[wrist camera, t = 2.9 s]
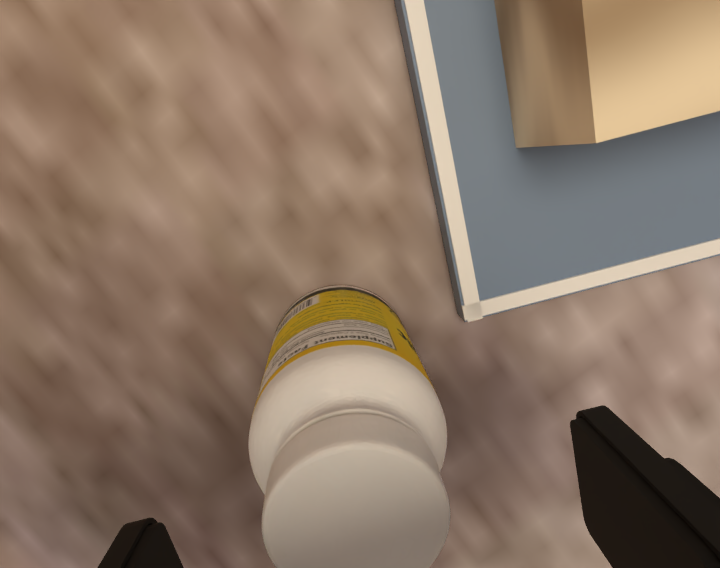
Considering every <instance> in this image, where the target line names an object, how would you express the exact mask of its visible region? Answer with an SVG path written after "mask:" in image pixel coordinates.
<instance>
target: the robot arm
mask: <svg viewBox="0 0 720 568" xmlns="http://www.w3.org/2000/svg"><path fill="white" fill-rule="evenodd" d="M570 428H571V434H572V441H573V448H574V455H575V462H576V469H577V475H578V482H579V489H580V496H581V503H582V510H583V516H584V521H585V524H586V526H587V529H588V531H589V533H590V535H591V536H592V538H593V539H594V541H595V542H596V544H597V545H598V547H599V548H600V550H601V551H602V553H603V554H604V556H605V557H606V558H607V560H608V561H609V563H610V564H611V566H612V567H613V568H720V498H719V497H718V496H716V495H715V494H714V493H713V492H712V491H711V490H710V489H708V488H707V487H706V486H705V485H704V484H703V483H702V482H700V481H699V480H698V479H697V478H696V477H695V476H694V475H692V474H691V473H690V472H689V471H688V470H687V469H686V468H684V467H683V466H682V465H681V464H680V463H678V462H677V461H675V460H674V459H671V458H665V459H664V458H663V457H662V456H661V455H660V454H659V453H657V452H656V451H655V450H654V449H653V448H652V447H651V446H650V445H649V444H647V443H646V442H645V441H644V440H643V439H642V438H641V437H640V436H639V435H637V434H636V433H635V432H634V431H633V430H632V429H631V428H630V427H629V426H628V425H626V424H625V423H624V422H623V421H622V420H621V419H620V418H619V417H618V416H616V415H615V414H614V413H613V412H612V411H611V410H610V409H609V408H607V407H606V406H598V407H594V408H590V409H586V410H582V411H578V412H577V415H576V419H575V420H572V421H571V422H570ZM98 568H183V565H182V563H181V561H180V559H179V556H178V554H177V552H176V550H175V547H174V545H173V543H172V541H171V539H170V536H169V534H168V532H167V530H166V527H165V526H164V524H163V523H157V521H156V520H155V519H154V518H147V519H143V520H139V521H135V522H131V523H127V524H125V525H124V526H123V527H122V528H121V530H120V531H119V533H118V535H117V536H116V538H115V540H114V541H113V543H112V545H111V546H110V548H109V550H108V551H107V553H106V555H105V556H104V558H103V560H102V561H101V563H100V565H99V566H98Z"/></svg>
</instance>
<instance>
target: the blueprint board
mask: <svg viewBox="0 0 720 568" xmlns="http://www.w3.org/2000/svg"><path fill="white" fill-rule="evenodd" d="M394 1H395V6H396V11H397V16H398V21H399V26H400V31H401V36H402V41H403V46H404V51H405V56H406V61H407V65H408V70H409V75H410V80H411V85H412V90H413V95H414V100H415V105H416V110H417V115H418V120H419V125H420V130H421V135H422V140H423V144H424V149H425V154H426V159H427V164H428V169H429V174H430V179H431V184H432V189H433V194H434V199H435V204H436V209H437V214H438V219H439V223H440V228H441V233H442V238H443V243H444V248H445V253H446V258H447V263H448V268H449V273H450V278H451V283H452V288H453V293H454V298H455V302H456V307H457V312H458V315H459V316H460V317H461V318H462V319H463V320H464V322H471V321H475V320H479V319H482V318H483V317H486V316H490V315H493V314H497V313H501V312H505V311H509V310H513V309H516V308H520V307H524V306H528V305H532V304H535V303H539V302H543V301H547V300H551V299H554V298H558V297H562V296H566V295H570V294H574V293H577V292H581V291H585V290H589V289H593V288H596V287H600V286H604V285H608V284H612V283H615V282H619V281H623V280H627V279H631V278H635V277H638V276H642V275H646V274H650V273H654V272H657V271H661V270H665V269H669V268H673V267H676V266H680V265H684V264H688V263H692V262H696V261H699V260H703V259H707V258H711V257H715V256H718V255H720V111H717V112H713V113H709V114H706V115H702V116H698V117H694V118H690V119H687V120H683V121H679V122H675V123H671V124H667V125H664V126H660V127H656V128H652V129H648V130H645V131H641V132H637V133H633V134H629V135H626V136H622V137H618V138H614V139H610V140H607V141H603V142H599V143H592V144H575V145H558V146H540V147H523V148H516V145H515V138H514V132H513V125H512V118H511V111H510V105H509V98H508V91H507V84H506V77H505V71H504V64H503V57H502V50H501V44H500V37H499V30H498V23H497V16H496V10H495V3H494V0H394Z"/></svg>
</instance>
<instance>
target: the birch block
mask: <svg viewBox="0 0 720 568" xmlns="http://www.w3.org/2000/svg"><path fill="white" fill-rule="evenodd" d="M494 3H495V10H496V16H497V23H498V30H499V37H500V44H501V50H502V57H503V64H504V71H505V77H506V84H507V91H508V98H509V105H510V111H511V118H512V125H513V132H514V138H515V145H516V148H523V147H540V146H558V145H575V144H592V143H599V142H603V141H607V140H610V139H614V138H618V137H622V136H626V135H629V134H633V133H637V132H641V131H645V130H648V129H652V128H656V127H660V126H664V125H667V124H671V123H675V122H679V121H683V120H687V119H690V118H694V117H698V116H702V115H706V114H709V113H713V112H717V111H720V0H494Z"/></svg>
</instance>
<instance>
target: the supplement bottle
mask: <svg viewBox="0 0 720 568" xmlns="http://www.w3.org/2000/svg"><path fill="white" fill-rule="evenodd" d="M446 449H447V427H446V420H445V416H444V412H443V409H442V406H441V404H440V401H439V399H438V396H437V394H436V392H435V390H434V388H433V386H432V384H431V382H430V380H429V378H428V376H427V374H426V372H425V370H424V368H423V366H422V364H421V362H420V359H419V357H418V355H417V353H416V351H415V349H414V347H413V345H412V343H411V341H410V339H409V337H408V335H407V333H406V331H405V329H404V326H403V324H402V323H401V321H400V319H399V318H398V316H397V315H396V313H395V312H394V310H393V309H392V308H391V307H390V306H389V305H388V303H386V302H385V301H384V300H383V299H382V298H380V297H379V296H377V295H375V294H374V293H372V292H370V291H367V290H365V289H362V288H358V287H354V286H347V285H336V286H327V287H323V288H320V289H317V290H314V291H312V292H310V293H308V294H306V295H304V296H303V297H301V298H300V299H298V300H297V301H296V302H295V303H294V304H293V305H292V306H291V307H290V308H289V309H288V310H287V312H286V313H285V314H284V316H283V317H282V319H281V321H280V323H279V325H278V327H277V330H276V333H275V336H274V339H273V343H272V347H271V350H270V354H269V357H268V362H267V365H266V368H265V373H264V376H263V379H262V383H261V387H260V390H259V394H258V397H257V401H256V404H255V408H254V411H253V415H252V420H251V426H250V432H249V457H250V463H251V467H252V470H253V474H254V476H255V478H256V481H257V483H258V485H259V487H260V488H261V490H262V492H263V493H264V495H265V499H264V505H263V512H262V536H263V541H264V545H265V548H266V551H267V553H268V555H269V557H270V559H271V560H272V562H273V564H274V565H275V566H276V568H429V567H430V566H431V564H432V563H433V562H434V561H435V559H436V558H437V557H438V555H439V553H440V551H441V550H442V548H443V546H444V543H445V541H446V538H447V535H448V531H449V526H450V504H449V498H448V495H447V492H446V489H445V486H444V483H443V480H442V478H441V474H440V471H441V469H442V466H443V463H444V459H445V455H446Z"/></svg>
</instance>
